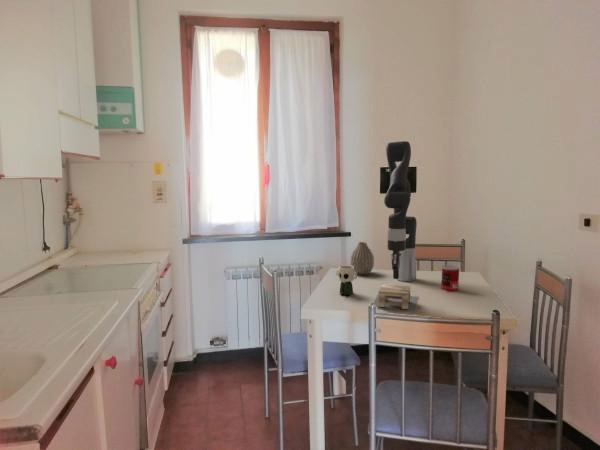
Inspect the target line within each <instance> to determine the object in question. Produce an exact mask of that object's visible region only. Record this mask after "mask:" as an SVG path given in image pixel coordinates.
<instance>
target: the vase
mask: <svg viewBox="0 0 600 450" xmlns="http://www.w3.org/2000/svg"><path fill="white" fill-rule="evenodd" d="M349 262H350V266H353V267H354V272H356V273H357V276H367V275H369V274H370V273H371V272H372V271H373V269H374V267H375V256H374V253H373V252H372V250H371V248H369V246H368V243H367V242H365V241H359V242H358V244H357V246H356V247H355V249H354V250H353V251H352V254H351V256H350V261H349Z"/></svg>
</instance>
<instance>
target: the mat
mask: <svg viewBox="0 0 600 450" xmlns="http://www.w3.org/2000/svg"><path fill="white" fill-rule="evenodd" d="M418 300H419V296H417V295H415V296H414V295H410V303H409V306H408V310H402V306H397V305H385V308H378V302H379V293H377V295H376V297H375V299H374V301H373V303H374V304H375V305H376V307H377V309H376V310H382V311H395V312H403V313H405V312H406V313H416V311H417V306H418ZM388 301H393V302H402V299H392V298H388Z"/></svg>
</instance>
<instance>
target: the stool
mask: <svg viewBox="0 0 600 450" xmlns="http://www.w3.org/2000/svg"><path fill="white" fill-rule="evenodd" d="M378 294H379V302H378V308H385V305H397V306H402V310H408V306H409V303H410V296H411V285H401V284H400V285H398V284H389V283H388V284H384V283H382V284H381V286H380V288H379V290H378ZM388 298H392V299H402V302H393V301H388Z"/></svg>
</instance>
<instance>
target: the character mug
mask: <svg viewBox="0 0 600 450" xmlns="http://www.w3.org/2000/svg"><path fill="white" fill-rule="evenodd" d="M335 272H336V275H335V276H337V277H338V280H339V281H340V285H339V294H340V295H345V296H350V295H352V294H353V293H354V287H353V283H352V282H353V281H354V280H357V277H358V274H357V273H356V272H354V267H353V266H351V265H348V264H346V265H340V266H338V269H336V271H335Z"/></svg>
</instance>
